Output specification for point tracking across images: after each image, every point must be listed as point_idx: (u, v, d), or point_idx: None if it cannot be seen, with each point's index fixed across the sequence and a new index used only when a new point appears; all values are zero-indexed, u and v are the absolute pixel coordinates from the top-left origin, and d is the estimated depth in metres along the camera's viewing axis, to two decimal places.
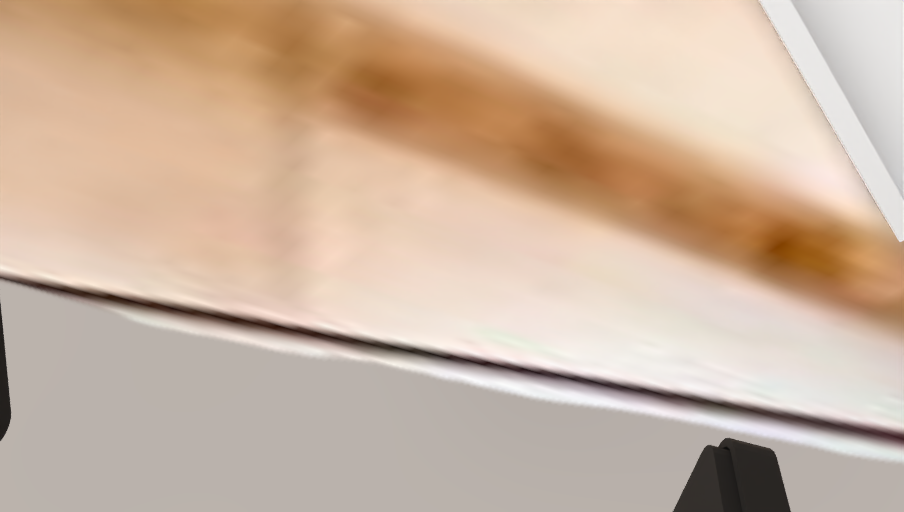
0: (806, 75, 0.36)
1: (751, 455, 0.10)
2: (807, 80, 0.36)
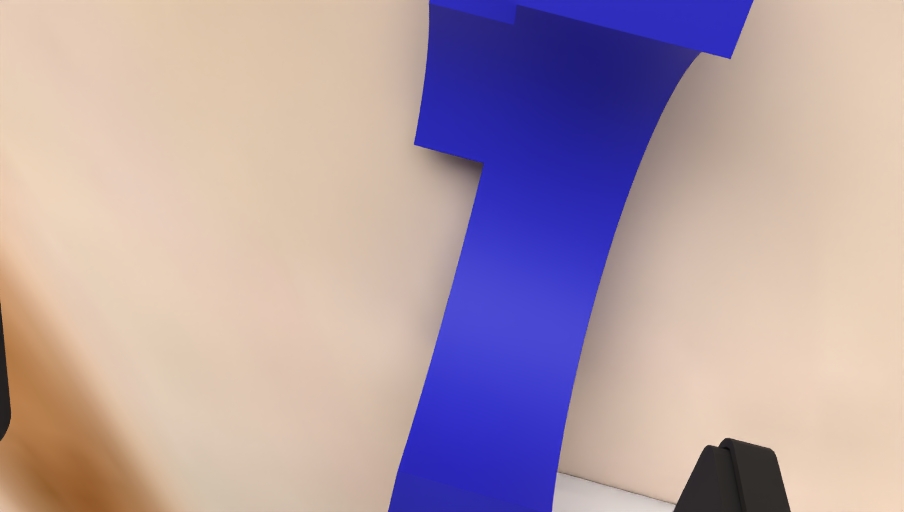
0: None
1: (751, 455, 0.10)
2: None
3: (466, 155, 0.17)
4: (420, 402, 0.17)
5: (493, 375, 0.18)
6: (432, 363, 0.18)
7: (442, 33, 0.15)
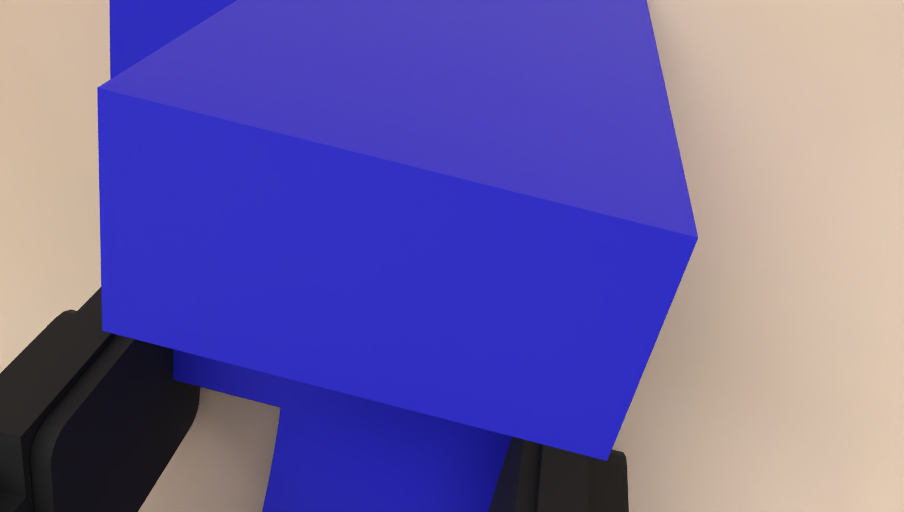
0: None
1: None
2: None
3: (255, 394, 0.11)
4: None
5: None
6: None
7: None
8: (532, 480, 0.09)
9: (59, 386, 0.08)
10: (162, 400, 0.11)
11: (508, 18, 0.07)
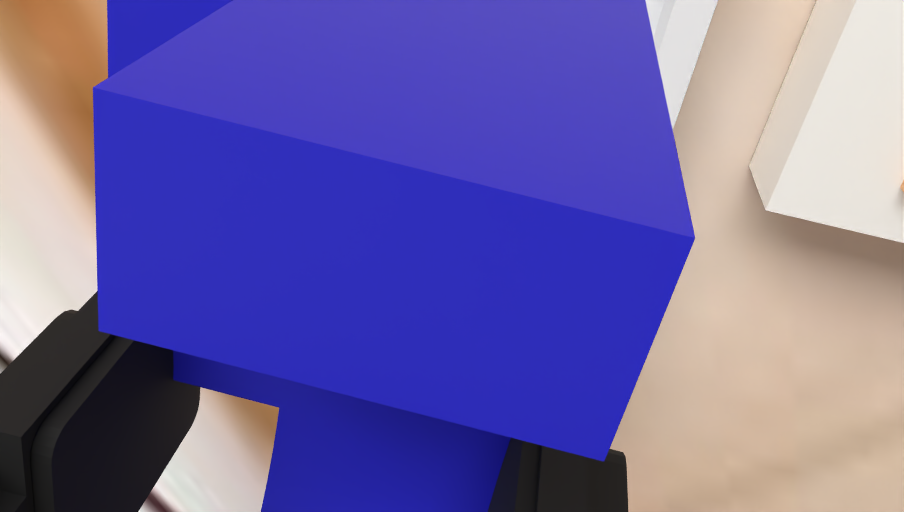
0: None
1: None
2: None
3: (254, 394, 0.11)
4: None
5: None
6: None
7: None
8: (531, 480, 0.09)
9: (59, 386, 0.08)
10: (162, 400, 0.11)
11: (507, 18, 0.07)
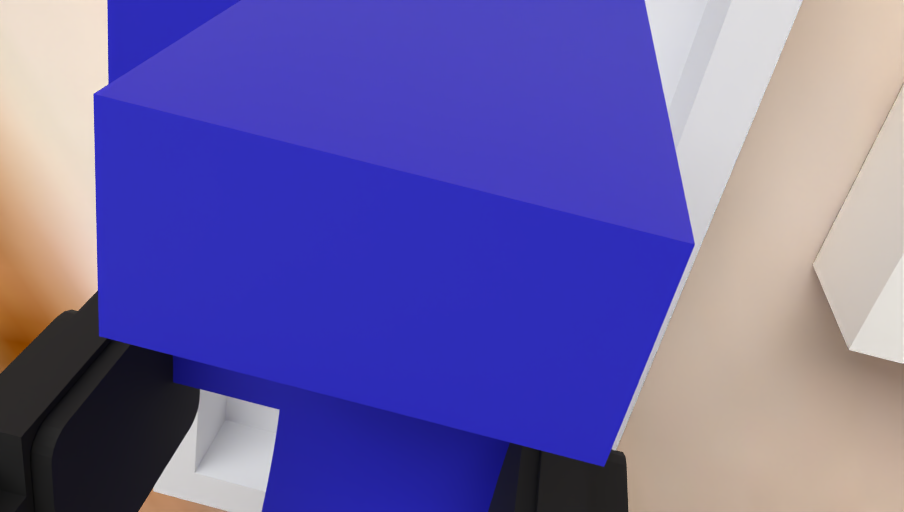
0: None
1: None
2: None
3: (254, 396, 0.11)
4: None
5: None
6: None
7: None
8: (531, 480, 0.09)
9: (60, 386, 0.08)
10: (162, 400, 0.11)
11: (507, 22, 0.07)
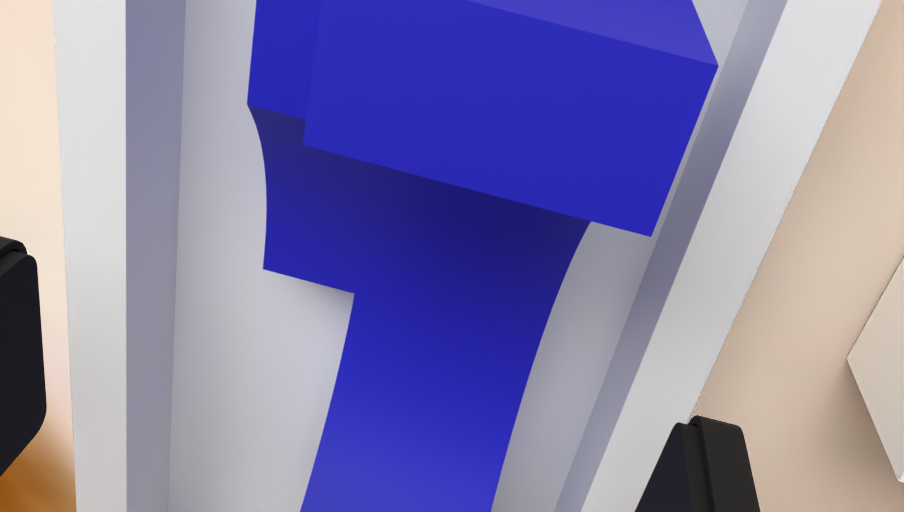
0: (69, 221, 0.13)
1: (718, 431, 0.10)
2: (66, 232, 0.13)
3: (333, 283, 0.13)
4: None
5: None
6: None
7: (276, 139, 0.11)
8: None
9: None
10: None
11: None
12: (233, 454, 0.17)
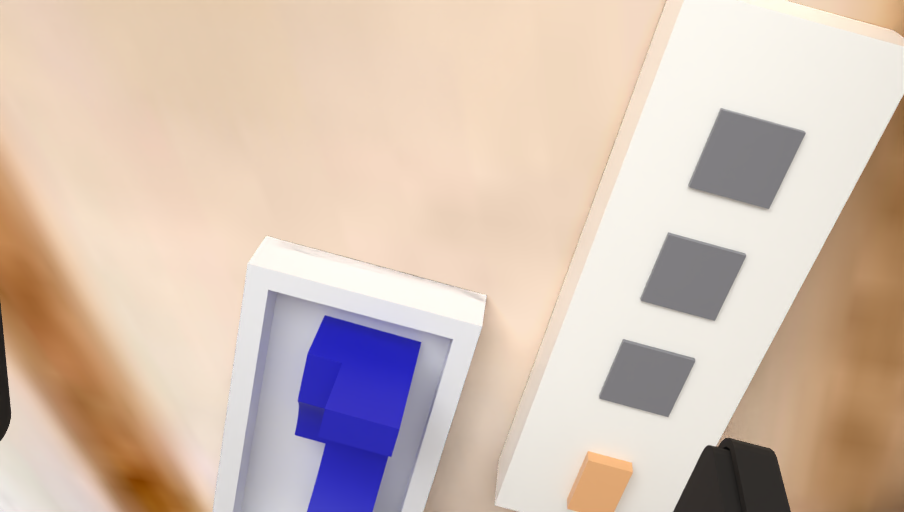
0: (228, 418, 0.39)
1: (751, 455, 0.10)
2: (226, 421, 0.39)
3: (318, 439, 0.40)
4: None
5: None
6: None
7: (304, 405, 0.37)
8: None
9: None
10: None
11: (383, 373, 0.35)
12: (270, 493, 0.43)
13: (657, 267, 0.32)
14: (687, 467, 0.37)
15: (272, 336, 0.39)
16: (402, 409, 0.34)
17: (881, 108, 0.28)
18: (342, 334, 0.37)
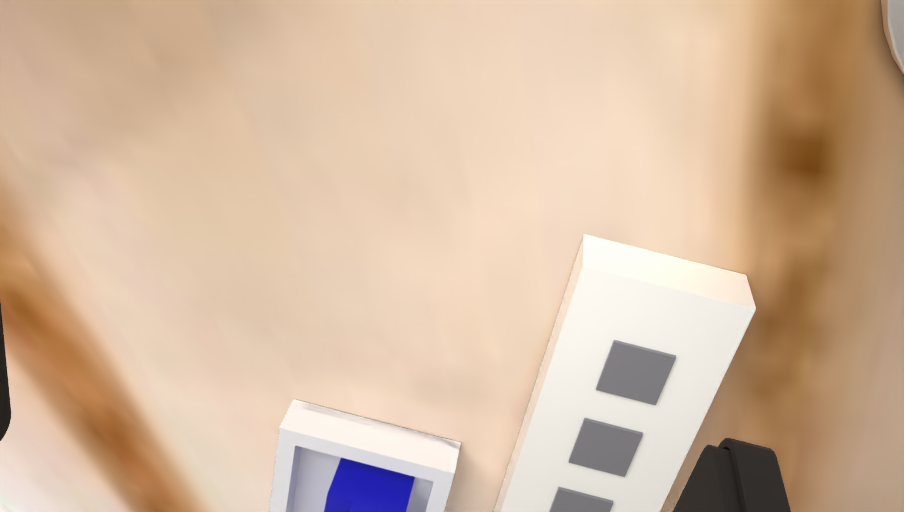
0: None
1: (751, 455, 0.10)
2: None
3: None
4: None
5: None
6: None
7: None
8: None
9: None
10: None
11: (384, 508, 0.47)
12: None
13: (578, 440, 0.43)
14: None
15: (300, 469, 0.51)
16: None
17: (729, 342, 0.39)
18: (354, 474, 0.49)
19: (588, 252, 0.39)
